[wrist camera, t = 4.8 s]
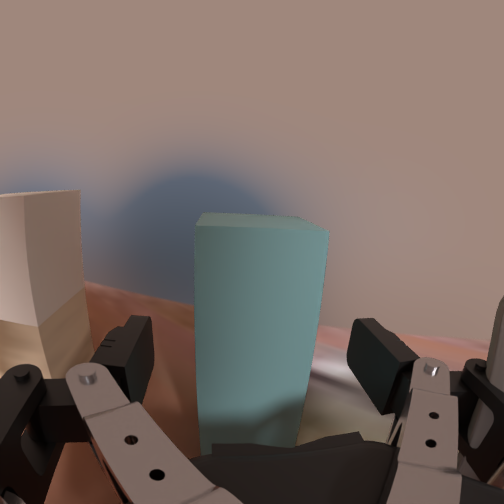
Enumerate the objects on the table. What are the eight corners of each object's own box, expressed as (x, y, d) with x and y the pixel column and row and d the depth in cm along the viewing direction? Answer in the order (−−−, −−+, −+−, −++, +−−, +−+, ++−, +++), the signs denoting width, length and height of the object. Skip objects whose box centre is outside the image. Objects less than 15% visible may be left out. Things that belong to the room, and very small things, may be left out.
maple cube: (97, 366, 18) (84, 286, 17) (66, 420, 13) (38, 326, 11) (31, 354, 18) (16, 280, 17) (-7, 397, 12) (-36, 311, 11)
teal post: (278, 401, 17) (298, 216, 15) (293, 454, 13) (329, 231, 10) (203, 401, 17) (203, 212, 14) (201, 457, 12) (195, 225, 10)
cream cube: (84, 286, 17) (80, 189, 16) (38, 326, 11) (23, 195, 10) (16, 280, 17) (9, 193, 15) (-36, 311, 11) (-50, 201, 9)
